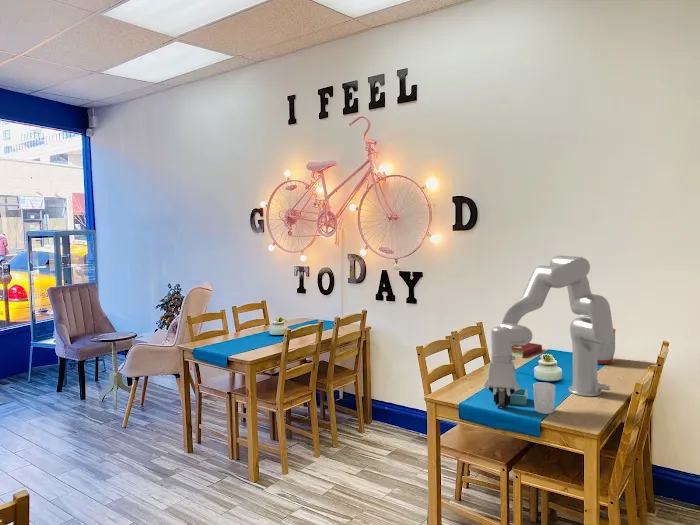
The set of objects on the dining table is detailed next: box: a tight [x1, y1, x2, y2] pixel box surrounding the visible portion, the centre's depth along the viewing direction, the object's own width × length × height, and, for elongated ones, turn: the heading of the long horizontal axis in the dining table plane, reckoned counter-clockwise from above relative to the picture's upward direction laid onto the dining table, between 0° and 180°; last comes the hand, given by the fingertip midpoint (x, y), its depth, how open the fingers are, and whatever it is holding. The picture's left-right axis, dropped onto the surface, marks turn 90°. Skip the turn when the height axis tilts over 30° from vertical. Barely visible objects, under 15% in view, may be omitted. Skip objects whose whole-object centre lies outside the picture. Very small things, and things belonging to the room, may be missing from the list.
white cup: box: [532, 381, 556, 415], centre depth 201 cm, size 8×8×10 cm
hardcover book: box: [511, 342, 543, 359], centre depth 291 cm, size 12×21×4 cm, turn 133°
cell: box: [496, 387, 508, 409], centre depth 206 cm, size 4×4×9 cm
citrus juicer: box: [595, 327, 616, 365], centre depth 267 cm, size 16×17×20 cm
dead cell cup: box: [509, 388, 528, 407], centre depth 213 cm, size 9×9×4 cm
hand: (502, 403), depth 206 cm, fingers closed on cell, 3 cm apart
